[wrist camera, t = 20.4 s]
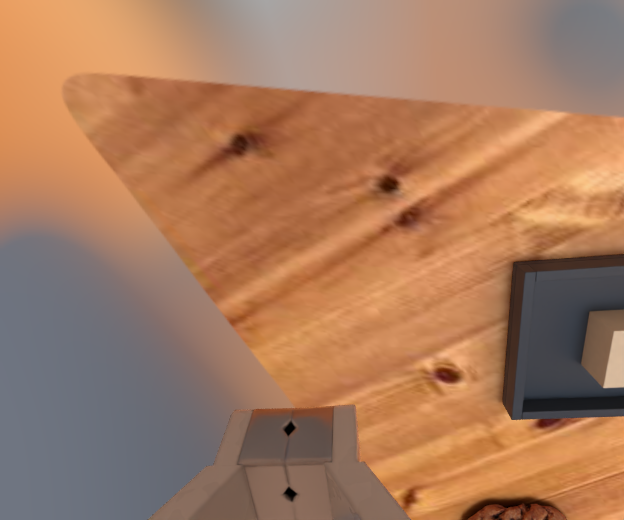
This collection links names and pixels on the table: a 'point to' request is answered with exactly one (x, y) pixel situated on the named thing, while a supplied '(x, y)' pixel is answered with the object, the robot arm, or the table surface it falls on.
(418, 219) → the table surface
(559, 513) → the cookie
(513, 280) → the backing tray
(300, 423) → the robot arm
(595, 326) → the beige rectangular block
